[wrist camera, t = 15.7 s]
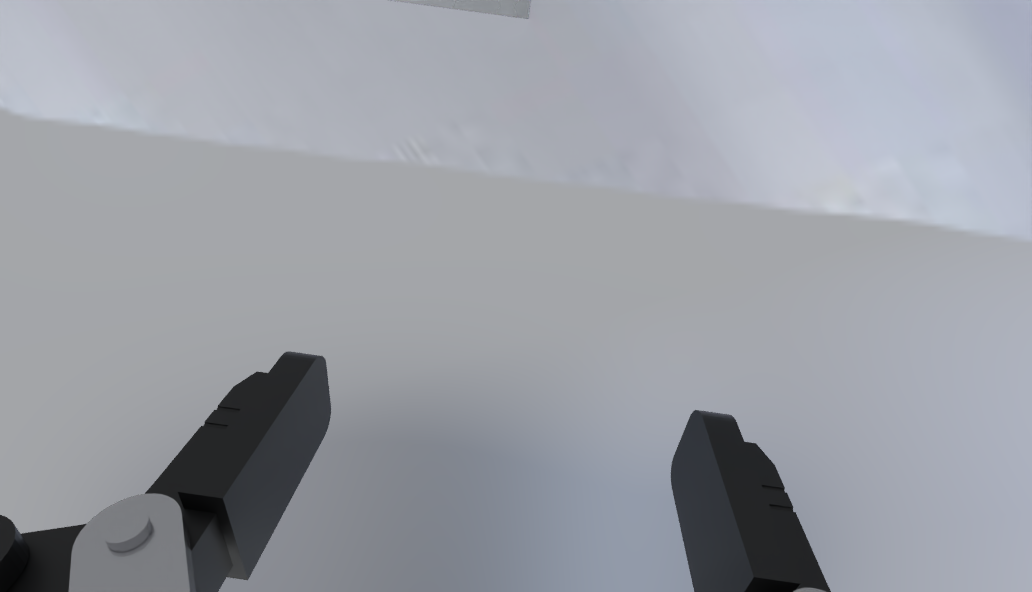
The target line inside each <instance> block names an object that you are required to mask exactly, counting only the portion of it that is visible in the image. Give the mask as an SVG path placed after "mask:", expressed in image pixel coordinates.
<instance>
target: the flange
mask: <svg viewBox="0 0 1032 592" xmlns="http://www.w3.org/2000/svg"><path fill="white" fill-rule="evenodd" d="M390 1H397V2H405V3H412V4H420V5H427V6H434V7H442V8H449V9H457V10H464V11H472V12H479V13H487V14H494V15H501V16H509V17H516V18H524V19H528V18H529V9H530V0H390Z"/></svg>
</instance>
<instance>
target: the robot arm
mask: <svg viewBox="0 0 1032 592" xmlns="http://www.w3.org/2000/svg"><path fill="white" fill-rule="evenodd" d="M330 415H331V403H330V396H329V386H328V376H327V367H326V361H325V359H324V357H323V356H317V355H310V354H303V353H296V352H286V353H284V354H283V355H282V356H281V357H280V359H279V360H278V361H277V362H276V364H275V365H274V366H273V368H272V369H271V370H270V372H269V373H263V372H256V373H254V374H253V375H251V376H249V377H248V378H247V379H245V380H243V381H242V382H240V383H239V384H237V385H236V386H234V387H233V388H232V390H231V391H230V392H229V393H228V394H227V396H226V397H225V398H224V399H223V400H222V401H221V403H220V404H219V405H218V408H217V410H214V411H213V412H212V414H211V415H210V416H209V417H208V418H207V420H206V421H205V424H204V426H201V427H200V428H199V429H198V431H197V432H196V433H195V434H194V435H193V437H192V438H191V439H190V440H189V442H188V443H187V444H186V445H185V446H184V447H183V449H182V450H181V451H180V452H179V454H178V455H177V456H176V457H175V458H174V460H173V461H172V462H171V463H170V464H169V466H168V467H167V468H166V469H165V471H164V472H163V473H162V474H161V475H160V477H159V478H158V479H157V480H156V481H155V483H154V484H153V485H152V486H151V487H150V488H149V490H148V491H147V492H146V493H145V494H141V495H136V496H133V497H129V498H126V499H124V500H121V501H119V502H117V503H115V504H113V505H111V506H109V507H107V508H106V509H104V510H103V511H101V512H100V513H99V514H97V515H96V516H95V517H94V518H92V520H91V521H89V522H88V523H87V524H83V525H78V526H71V527H64V528H57V529H50V530H44V531H37V532H30V533H24V534H20V533H19V531H18V530H17V528H16V527H15V525H14V524H13V522H12V521H11V520H10V519H8V518H7V517H4V516H2V515H0V592H218V591H219V589H220V587H221V586H222V584H223V582H224V580H225V579H226V577H230V578H237V579H244V580H248V579H249V577H250V575H251V573H252V571H253V569H254V567H255V566H256V564H257V562H258V560H259V558H260V556H261V554H262V552H263V551H264V549H265V547H266V545H267V543H268V541H269V539H270V538H271V536H272V534H273V532H274V530H275V528H276V526H277V524H278V522H279V521H280V519H281V517H282V515H283V513H284V511H285V509H286V507H287V505H288V503H289V502H290V500H291V498H292V496H293V494H294V492H295V490H296V489H297V487H298V485H299V483H300V481H301V479H302V477H303V476H304V473H305V472H306V470H307V468H308V466H309V464H310V462H311V461H312V459H313V457H314V455H315V453H316V451H317V449H318V447H319V446H320V444H321V442H322V440H323V438H324V436H325V434H326V431H327V429H328V425H329V421H330ZM671 484H672V490H673V495H674V499H675V504H676V508H677V513H678V518H679V523H680V527H681V532H682V537H683V541H684V546H685V550H686V555H687V560H688V564H689V569H690V573H691V578H692V582H693V587H694V592H831V591H830V589H829V587H828V585H827V583H826V580H825V578H824V576H823V574H822V572H821V569H820V567H819V565H818V562H817V560H816V558H815V556H814V554H813V551H812V549H811V546H810V544H809V542H808V540H807V538H806V535H805V533H804V531H803V529H802V526H801V524H800V522H799V519H798V517H797V515H796V513H795V512H793V506H792V503H791V501H790V499H789V497H788V494H787V493H785V491H784V485H783V483H782V481H781V479H780V476H779V474H778V472H777V470H776V467H775V465H774V464H773V463H772V462H771V460H770V459H769V458H768V457H767V456H766V455H765V454H764V452H763V451H762V450H761V449H760V448H759V447H758V445H757V444H755V443H749V442H744V440H743V437H742V435H741V432H740V430H739V427H738V425H737V422H736V420H735V419H734V417H733V416H732V415H727V414H720V413H713V412H706V411H699V410H695V411H694V412H693V413H692V414H691V416H690V418H689V421H688V423H687V425H686V428H685V430H684V433H683V435H682V438H681V440H680V443H679V445H678V447H677V450H676V452H675V455H674V458H673V461H672V467H671Z"/></svg>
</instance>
